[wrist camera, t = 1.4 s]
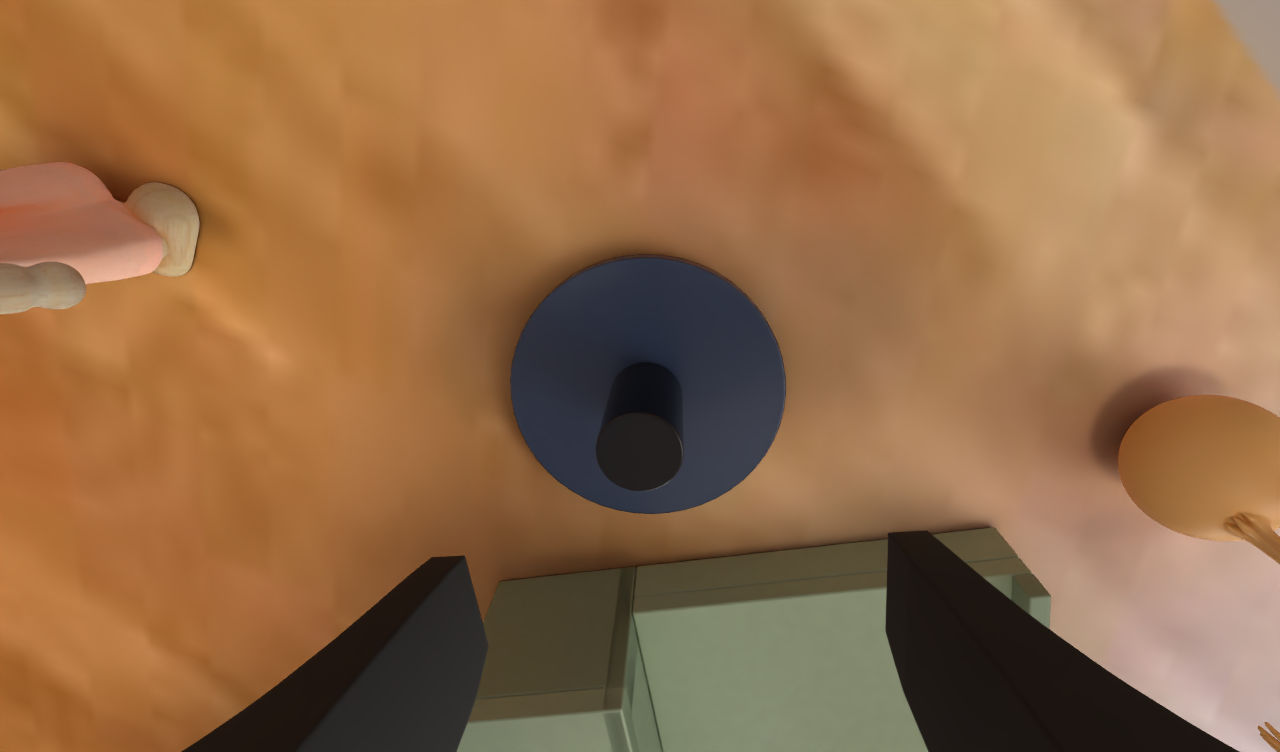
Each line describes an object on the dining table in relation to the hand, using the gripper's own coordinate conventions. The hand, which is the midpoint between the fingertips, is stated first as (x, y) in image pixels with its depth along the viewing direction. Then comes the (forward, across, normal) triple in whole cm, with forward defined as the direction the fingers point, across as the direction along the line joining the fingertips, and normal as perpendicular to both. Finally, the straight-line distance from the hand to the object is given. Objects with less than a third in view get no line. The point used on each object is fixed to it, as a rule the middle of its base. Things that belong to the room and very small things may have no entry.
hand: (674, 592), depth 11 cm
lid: (+10, +1, 0) cm, 10 cm away
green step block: (+9, -2, +12) cm, 16 cm away
